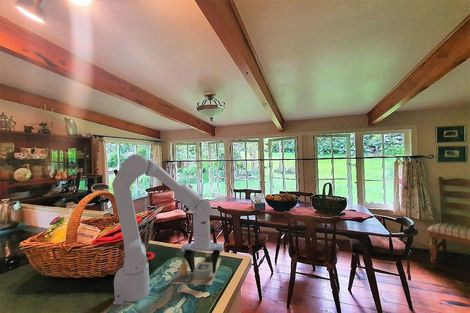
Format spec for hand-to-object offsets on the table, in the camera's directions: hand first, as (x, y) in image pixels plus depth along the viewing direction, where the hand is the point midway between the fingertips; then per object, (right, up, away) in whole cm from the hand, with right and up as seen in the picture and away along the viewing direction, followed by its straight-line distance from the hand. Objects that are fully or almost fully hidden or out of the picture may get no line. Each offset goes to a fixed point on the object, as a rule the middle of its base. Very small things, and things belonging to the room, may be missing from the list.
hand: (203, 271), depth 77 cm
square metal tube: (0, -1, 0) cm, 1 cm away
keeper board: (-2, -2, +4) cm, 5 cm away
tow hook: (-28, -4, +17) cm, 33 cm away
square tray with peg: (-7, -3, 0) cm, 7 cm away
